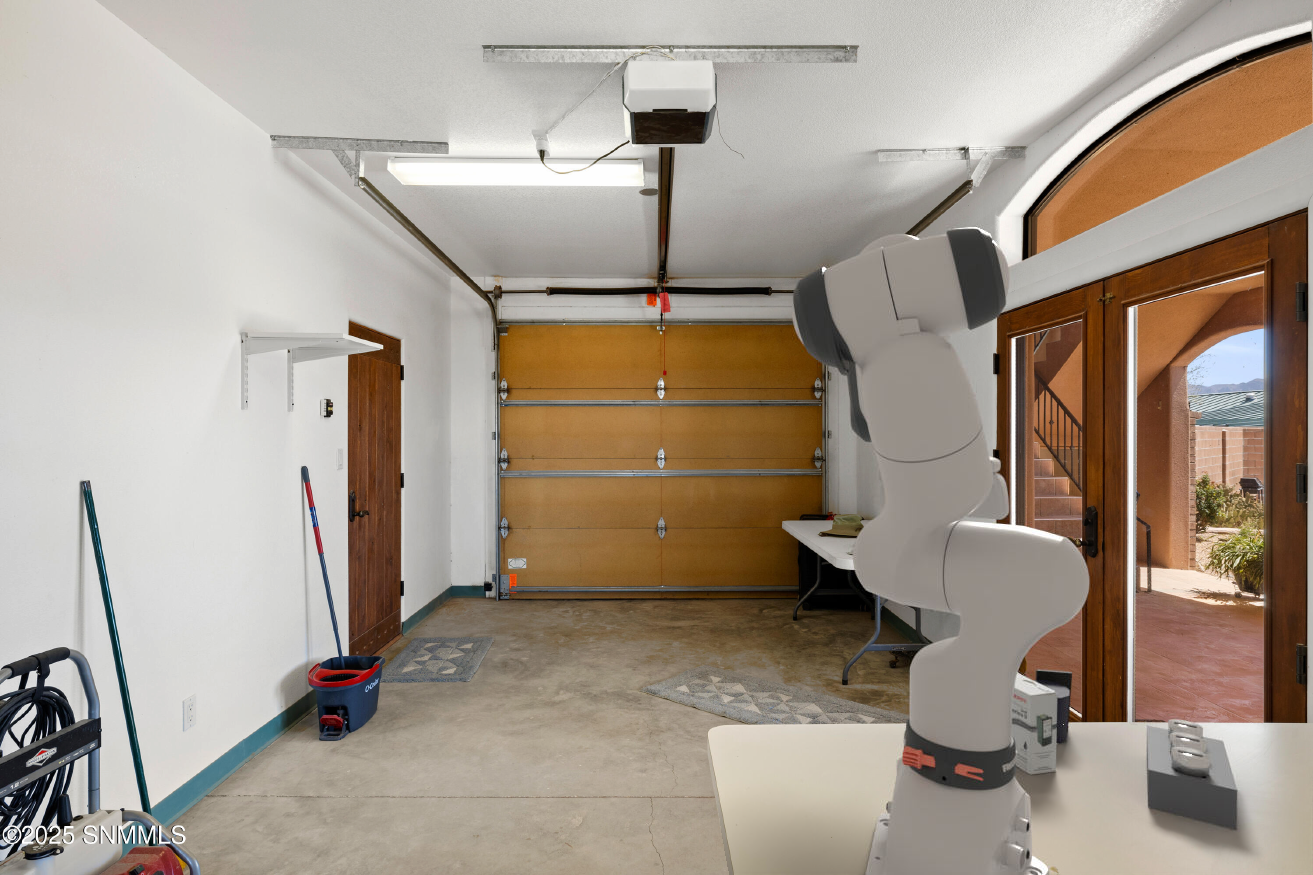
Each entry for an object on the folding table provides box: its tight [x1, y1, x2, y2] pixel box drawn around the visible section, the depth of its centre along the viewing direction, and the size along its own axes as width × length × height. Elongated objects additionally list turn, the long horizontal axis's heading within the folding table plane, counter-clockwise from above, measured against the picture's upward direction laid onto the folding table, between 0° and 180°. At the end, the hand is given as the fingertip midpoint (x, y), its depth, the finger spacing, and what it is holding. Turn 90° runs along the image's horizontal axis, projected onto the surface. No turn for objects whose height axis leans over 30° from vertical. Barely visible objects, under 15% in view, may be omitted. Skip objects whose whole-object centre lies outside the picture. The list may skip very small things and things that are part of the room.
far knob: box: [1167, 718, 1204, 739], centre depth 99 cm, size 4×4×5 cm
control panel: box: [1146, 725, 1238, 831], centre depth 95 cm, size 17×9×5 cm, turn 145°
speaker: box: [1034, 669, 1073, 745], centre depth 112 cm, size 8×6×10 cm
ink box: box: [1012, 673, 1057, 775], centre depth 104 cm, size 9×5×12 cm, turn 14°
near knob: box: [1171, 747, 1210, 778], centre depth 90 cm, size 4×4×5 cm
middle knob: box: [1170, 732, 1206, 772], centre depth 95 cm, size 4×4×5 cm
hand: (940, 542), depth 115 cm, fingers closed
